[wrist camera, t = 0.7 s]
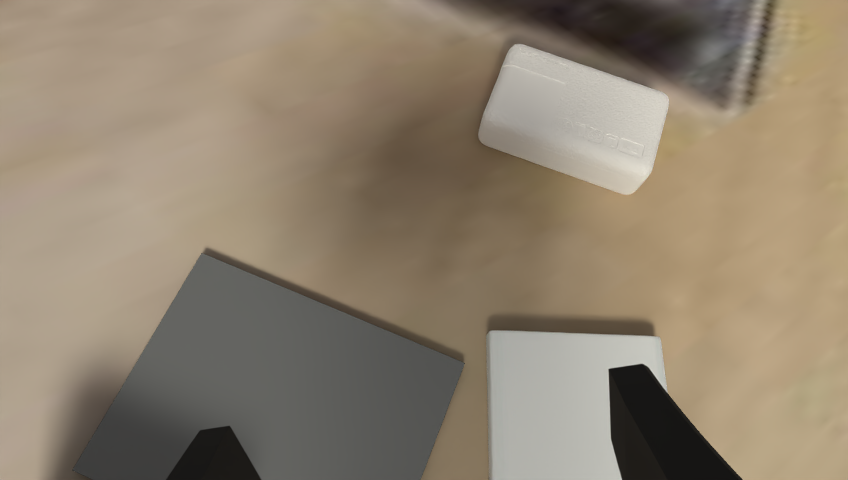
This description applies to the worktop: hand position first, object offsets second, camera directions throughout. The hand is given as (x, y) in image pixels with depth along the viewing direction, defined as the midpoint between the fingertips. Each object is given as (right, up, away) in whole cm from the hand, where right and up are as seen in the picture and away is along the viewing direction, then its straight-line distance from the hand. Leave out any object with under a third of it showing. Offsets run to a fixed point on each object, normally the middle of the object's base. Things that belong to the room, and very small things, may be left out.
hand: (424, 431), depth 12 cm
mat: (-6, -4, +15) cm, 17 cm away
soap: (+8, +9, +23) cm, 26 cm away
